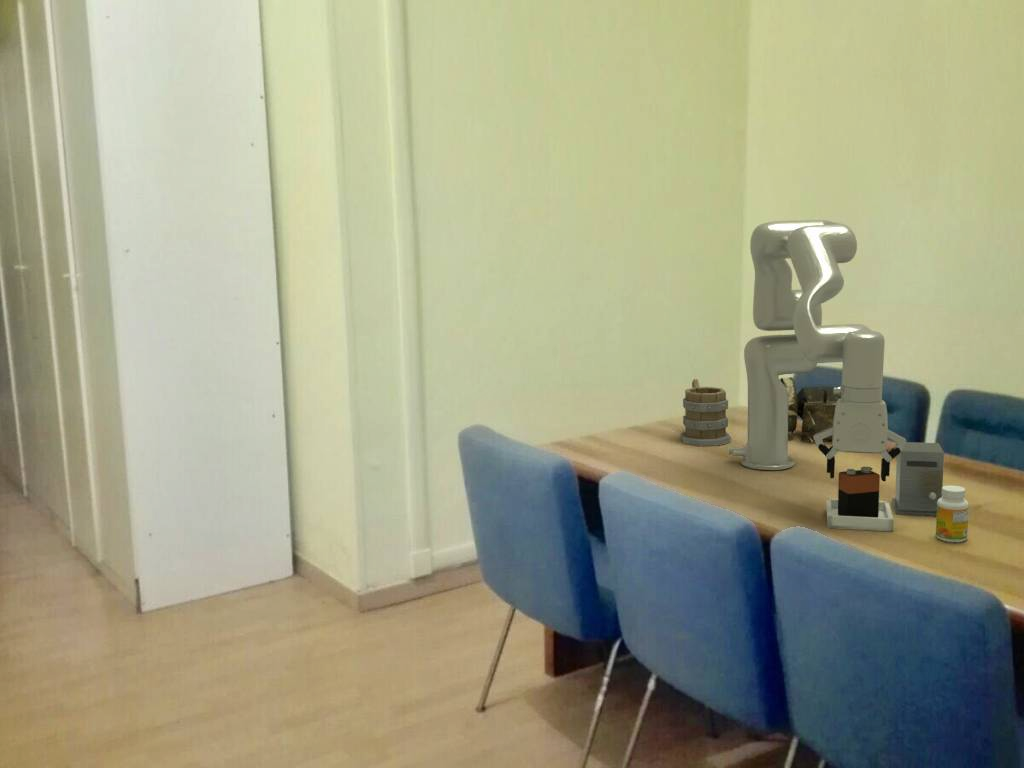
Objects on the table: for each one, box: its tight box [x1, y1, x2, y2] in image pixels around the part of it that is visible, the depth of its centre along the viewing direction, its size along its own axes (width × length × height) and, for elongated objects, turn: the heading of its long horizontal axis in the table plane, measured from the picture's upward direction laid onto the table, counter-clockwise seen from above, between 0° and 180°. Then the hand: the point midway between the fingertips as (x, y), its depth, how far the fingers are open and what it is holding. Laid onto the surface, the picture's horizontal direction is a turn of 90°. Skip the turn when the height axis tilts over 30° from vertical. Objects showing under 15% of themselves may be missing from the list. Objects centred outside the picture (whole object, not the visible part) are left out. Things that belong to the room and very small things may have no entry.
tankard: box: [680, 378, 732, 447], centre depth 268 cm, size 20×13×15 cm, turn 179°
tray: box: [825, 498, 895, 532], centre depth 196 cm, size 12×12×2 cm
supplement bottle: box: [935, 485, 970, 543], centre depth 183 cm, size 5×5×10 cm
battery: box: [837, 466, 881, 518], centre depth 195 cm, size 4×7×10 cm, turn 101°
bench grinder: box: [779, 376, 841, 443], centre depth 263 cm, size 20×22×20 cm
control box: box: [891, 441, 945, 517], centre depth 201 cm, size 9×9×13 cm
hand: (857, 477), depth 195 cm, fingers open, 9 cm apart
